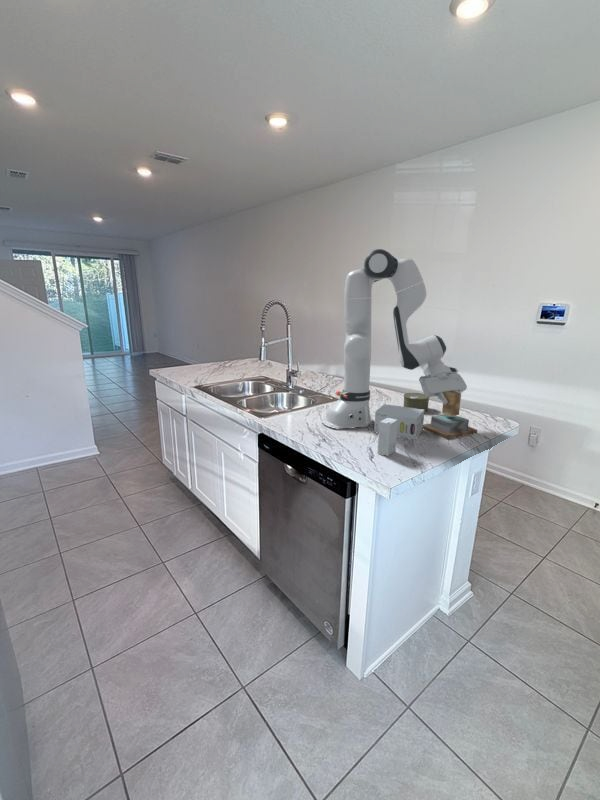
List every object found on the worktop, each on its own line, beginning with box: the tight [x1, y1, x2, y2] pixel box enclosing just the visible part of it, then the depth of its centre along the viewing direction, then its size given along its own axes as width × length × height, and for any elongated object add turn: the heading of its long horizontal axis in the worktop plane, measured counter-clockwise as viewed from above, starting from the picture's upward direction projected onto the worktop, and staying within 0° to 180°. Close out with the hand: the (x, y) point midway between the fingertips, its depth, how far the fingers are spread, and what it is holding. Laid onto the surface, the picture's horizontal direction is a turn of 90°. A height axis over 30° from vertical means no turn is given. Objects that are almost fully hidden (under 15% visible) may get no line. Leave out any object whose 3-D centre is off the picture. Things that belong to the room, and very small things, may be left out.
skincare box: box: [377, 418, 398, 457], centre depth 128 cm, size 6×4×12 cm
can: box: [403, 392, 430, 413], centre depth 180 cm, size 12×12×7 cm
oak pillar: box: [441, 391, 462, 416], centre depth 148 cm, size 4×4×9 cm
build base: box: [423, 413, 478, 440], centre depth 150 cm, size 16×14×6 cm
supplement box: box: [373, 403, 425, 441], centre depth 150 cm, size 17×13×9 cm
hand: (452, 402), depth 147 cm, fingers closed on oak pillar, 4 cm apart
